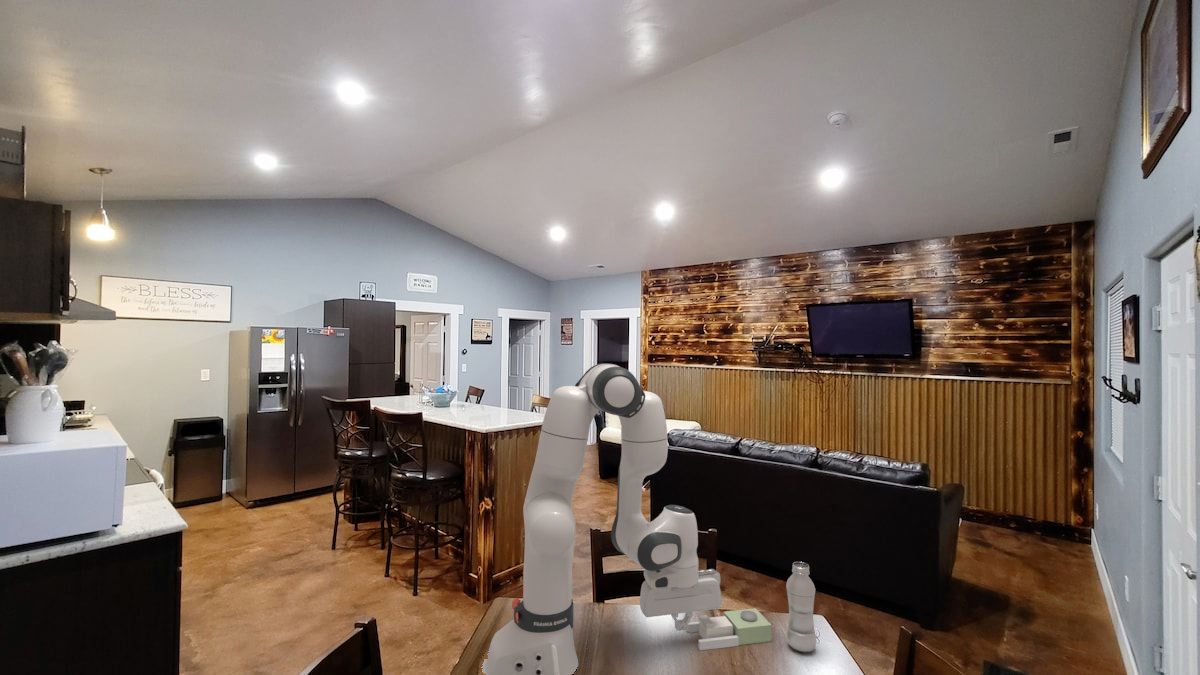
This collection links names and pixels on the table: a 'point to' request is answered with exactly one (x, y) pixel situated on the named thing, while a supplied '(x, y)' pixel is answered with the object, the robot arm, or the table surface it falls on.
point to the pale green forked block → (738, 630)
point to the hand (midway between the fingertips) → (681, 628)
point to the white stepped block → (714, 627)
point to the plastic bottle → (801, 609)
